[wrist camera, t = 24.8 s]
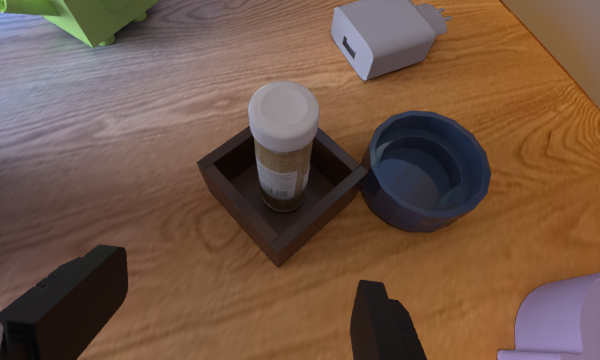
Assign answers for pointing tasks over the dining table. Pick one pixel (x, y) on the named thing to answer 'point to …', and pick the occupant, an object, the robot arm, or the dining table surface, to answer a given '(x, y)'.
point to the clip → (559, 322)
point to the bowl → (424, 171)
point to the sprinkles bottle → (283, 141)
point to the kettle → (84, 15)
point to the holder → (266, 222)
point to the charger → (385, 34)
